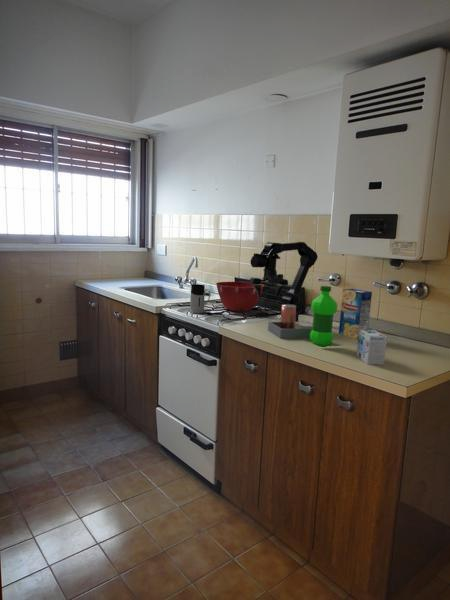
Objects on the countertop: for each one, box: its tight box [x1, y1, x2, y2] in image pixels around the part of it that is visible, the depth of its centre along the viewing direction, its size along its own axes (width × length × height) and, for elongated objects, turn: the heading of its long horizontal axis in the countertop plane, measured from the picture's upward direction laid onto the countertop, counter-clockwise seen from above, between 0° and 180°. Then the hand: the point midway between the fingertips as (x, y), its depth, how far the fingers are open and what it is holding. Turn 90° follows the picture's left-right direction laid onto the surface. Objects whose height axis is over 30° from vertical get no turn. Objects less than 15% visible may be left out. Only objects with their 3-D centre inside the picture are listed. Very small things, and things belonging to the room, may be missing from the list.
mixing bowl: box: [215, 281, 265, 312], centre depth 250 cm, size 28×28×15 cm
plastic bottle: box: [309, 285, 338, 348], centre depth 176 cm, size 10×10×25 cm
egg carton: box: [295, 321, 313, 329], centre depth 193 cm, size 6×9×5 cm
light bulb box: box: [356, 329, 388, 366], centre depth 159 cm, size 11×7×11 cm, turn 5°
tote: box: [267, 321, 313, 340], centre depth 192 cm, size 20×15×5 cm
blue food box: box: [338, 288, 373, 341], centre depth 193 cm, size 7×11×22 cm, turn 34°
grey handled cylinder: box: [189, 283, 211, 314], centre depth 236 cm, size 9×14×15 cm, turn 46°
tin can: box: [280, 304, 296, 329], centre depth 190 cm, size 6×6×13 cm
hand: (267, 298), depth 214 cm, fingers open, 9 cm apart
